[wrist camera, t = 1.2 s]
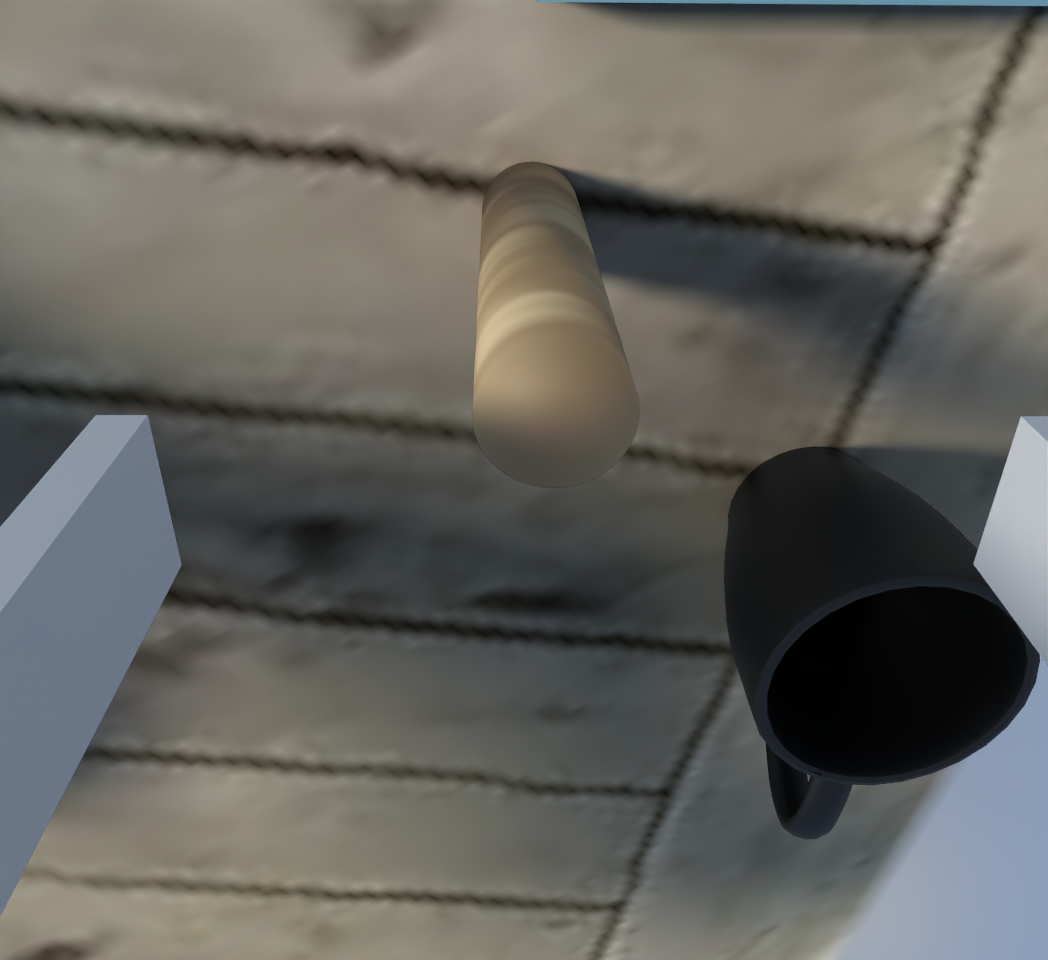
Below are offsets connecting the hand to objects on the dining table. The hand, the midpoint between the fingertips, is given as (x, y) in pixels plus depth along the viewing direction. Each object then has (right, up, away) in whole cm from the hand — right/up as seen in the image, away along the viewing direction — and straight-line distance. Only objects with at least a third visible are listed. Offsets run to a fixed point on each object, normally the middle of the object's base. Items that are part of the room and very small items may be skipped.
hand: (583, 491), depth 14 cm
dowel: (-1, +9, +14) cm, 17 cm away
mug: (+9, -2, +21) cm, 23 cm away
